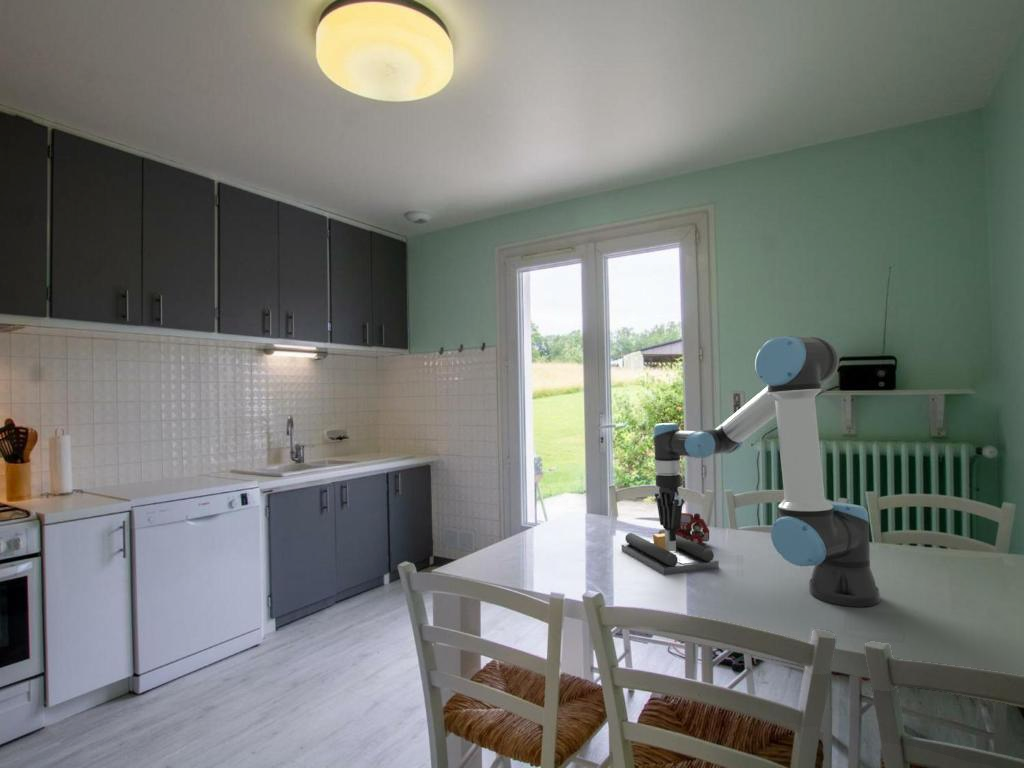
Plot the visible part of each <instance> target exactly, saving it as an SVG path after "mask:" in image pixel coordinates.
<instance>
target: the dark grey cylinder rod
mask: <svg viewBox="0 0 1024 768" xmlns="http://www.w3.org/2000/svg"><path fill="white" fill-rule="evenodd" d="M649 541H650V540H647V539H644V537H641V536H639V535H637V534H635V533H633V532H630V533H627V534H626V535H625V542H626V544H630V545H632V546H634V547H636V548H637V549H639V550H641V551H643V552H645V553H647V554H649V555H650V556H652V557H654V558H656V559H658V560H660V561H661V562H663V563H665V564H667V565H669V566H674V565H676V564H677V561H678V559H677V556H676V555H675V554H673V553H671V552H669V551H667V550H665V549H663V548H661V547H659V546H657V545H655V544H653V543H651V542H649Z"/></svg>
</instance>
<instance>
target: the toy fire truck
mask: <svg viewBox="0 0 1024 768" xmlns="http://www.w3.org/2000/svg"><path fill="white" fill-rule="evenodd" d="M676 535H678V536H680V537H683V538H685V539H687V540H689V541H692V542H694V543H696V544H699V545H701V546H703V545H702V544H703V543H705V542H706V543H707V542H709V540H710V529H709V528H708V525H707V524H706V522H705V520H704V518H701V515H700V513H698V512H697V513H694V515H693V514H692V513H689V512H688V513H686V512H682V513H681V523H680V529H676Z"/></svg>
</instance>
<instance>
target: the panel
mask: <svg viewBox="0 0 1024 768" xmlns="http://www.w3.org/2000/svg"><path fill="white" fill-rule="evenodd" d="M648 541H649V542H651V543H653V540H648ZM665 550H666V549H665ZM621 551H622V552H624V553H625V554H627V555H628V556H630V557H632V558H634V559H635V560H638V562H641V563H643V564H645V565H646V566H647V567H650V568H651V569H653V570H655V571H656V572H658V573H659V574H661V575H663V576H666V575H668V576H669V575H674V574H683V573H691V572H697V571H699V572H700V571H705V570H711V569H713V570H714V569H719V568H720V566H719V565H720V564H719V562H720V561H719V560H717V559H715V558H713V559H712V560H711V561H704V560H702V559H700V558H698V557H696V556H694V555H692V554H690V553H687V552H685V551H683V550H681V549H679V548H677V547H676V551H670V552H671V553H673V554H675V555H676V556H677V559H678V561H677V564H676V565H674V566H669V565H667V564H665V563H663V562H661V561H660V560H658V559H656V558H654V557H652V556H650V555H649V554H647V553H645V552H643V551H641V550H639V549H637V548H636V547H634V546H632V545H630V544H628V543H623V544H622V543H621Z"/></svg>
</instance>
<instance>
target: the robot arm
mask: <svg viewBox="0 0 1024 768" xmlns="http://www.w3.org/2000/svg"><path fill="white" fill-rule="evenodd" d="M839 363H840V357H839V353H838V351H837V349H836V347H835V346H834V345H833V344H832V343H831V342H829V341H827V340H826V339H823V338H820V337H815V336H814V337H813V336H811V337H808V336H806V337H805V336H796V335H795V336H794V335H785V336H778V337H774V338H771V339H769V340H767V341H766V342H765V343H764V344H763V345H762V347H761V348H760V349H759V350H758V352H757V354H756V357H755V360H754V367H755V368H754V369H755V372H756V375H757V377H758V379H761V382H763V383H765V384H766V387H764V388H763V389H762V390H761V391H760V392H758V393H757V394H756V395H755V396H754V397H753V398H752V399H750V400H749V401H748V402H747V403H745V404H744V405H743V406H742V407H741V408H739V409H738V410H737V411H736V412H735V413H733V414H732V415H731V416H730V417H728V418H727V419H726V420H725V421H724V422H722V423H721V424H719V425H718V427H716V428H713V429H702V430H701V429H700V430H681V429H680V428H679V427H680V425H679V423H676V422H667V423H666V422H664V423H657V424H655V425H654V426H653V429H654V430H653V441H654V442H653V443H654V472H655V473H656V474H655V485H656V486H657V487H658V493H657V492H656V493H654V497H655V500H656V506H657V512H658V519H659V524H660V526H662V527H663V530H665V547H666V550H667V551H669V552H670V551H676V529H680V523H681V513H683V505H684V503H685V501H684V498H680V497H679V491H678V489H679V488H680V487H681V486H682V476H681V474H680V473H681V456H682V457H690V458H695V459H706V458H709V457H711V456H712V455H721V454H723V455H724V454H731V453H733V452H737V451H739V450H740V449H741V448H742V445H743V442H744V441H745V440H746V439H748V438H749V437H750V436H751V435H752V434H754V433H755V432H756V431H757V430H759V429H760V428H762V427H763V426H765V425H767V423H768V422H770V421H771V420H772V419H774V418H775V417H776V423H777V425H776V426H777V434H778V435H777V436H778V443H779V444H778V446H779V455H780V466H781V474H782V486H783V487H782V488H783V496H784V497H783V499H782V501H781V502H780V503H779V504H778V518H777V519H776V520H775V521H774V523H773V524H772V525H771V529H770V538H771V542H772V545H773V547H774V548H775V550H776V552H777V553H778V554H779V555H780V556H782V559H784V560H786V561H787V562H788V563H789V564H792V565H794V566H797V567H810V566H811V567H813V566H814V567H813V570H812V573H811V578H809V582H808V590H809V593H810V595H811V596H813V597H815V598H816V599H819V600H821V601H822V602H823V601H824V602H827V603H830V604H833V603H834V605H839V606H844V607H855V608H856V607H857V608H858V607H859V608H862V607H864V606H867V607H873V606H876V605H878V604H880V602H881V597H880V596H881V595H880V593H881V592H880V590H879V587H878V586H877V584H876V581H875V577H874V575H873V572H872V570H871V559H870V558H871V557H870V556H871V554H870V550H871V549H870V520H869V513H868V510H867V509H866V507H865V506H862V505H858V504H853V503H845V502H840V501H828V500H826V497H825V487H824V481H823V480H824V478H823V468H822V459H821V458H822V457H821V447H820V437H819V429H818V419H817V418H818V417H817V408H816V399H815V398H816V396H817V395H818V394H819V393H820V392H822V387H823V386H824V385H826V384H827V383H828V382H829V381H830V380H831V379H832V378H833V377H834V376H835V375H836V373H837V372H838V369H839V366H840V364H839ZM877 603H878V604H877ZM875 604H876V605H875ZM872 605H873V606H872Z"/></svg>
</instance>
